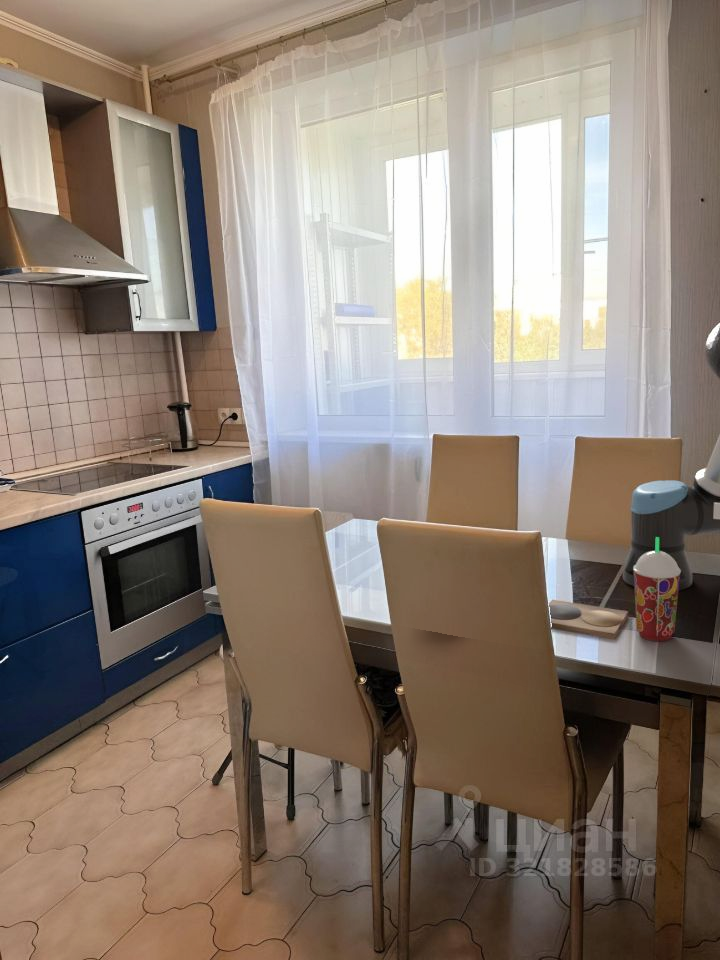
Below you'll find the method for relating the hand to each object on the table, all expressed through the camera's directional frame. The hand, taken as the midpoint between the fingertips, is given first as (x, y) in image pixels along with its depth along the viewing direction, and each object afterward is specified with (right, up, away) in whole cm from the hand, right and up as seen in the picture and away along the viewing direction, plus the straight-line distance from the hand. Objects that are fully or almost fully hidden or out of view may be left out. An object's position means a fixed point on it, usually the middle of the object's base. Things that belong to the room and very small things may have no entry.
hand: (717, 501), depth 120 cm
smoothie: (-6, -27, +11) cm, 30 cm away
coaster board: (-18, -26, +20) cm, 37 cm away
